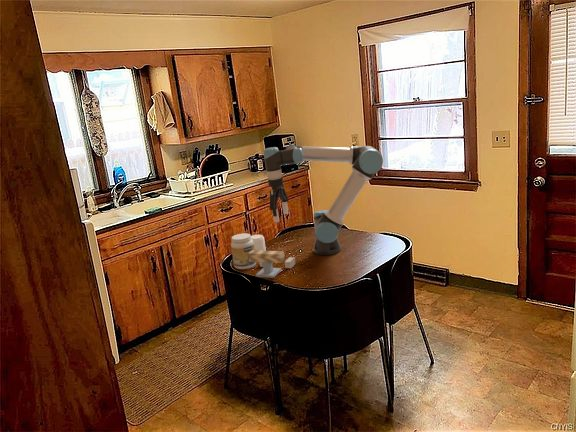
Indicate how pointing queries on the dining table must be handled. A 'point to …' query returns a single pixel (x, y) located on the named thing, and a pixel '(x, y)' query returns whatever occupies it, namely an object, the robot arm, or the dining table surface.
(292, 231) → the dining table surface
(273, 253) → the bar
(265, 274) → the pale grey stand
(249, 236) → the supplement tub
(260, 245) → the white tapered cup
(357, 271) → the dining table surface
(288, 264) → the rack
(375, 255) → the dining table surface
